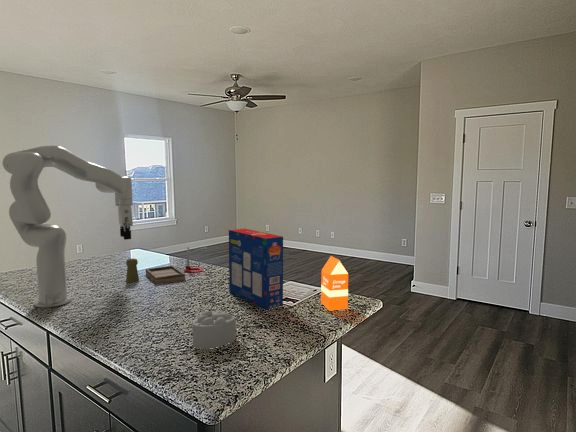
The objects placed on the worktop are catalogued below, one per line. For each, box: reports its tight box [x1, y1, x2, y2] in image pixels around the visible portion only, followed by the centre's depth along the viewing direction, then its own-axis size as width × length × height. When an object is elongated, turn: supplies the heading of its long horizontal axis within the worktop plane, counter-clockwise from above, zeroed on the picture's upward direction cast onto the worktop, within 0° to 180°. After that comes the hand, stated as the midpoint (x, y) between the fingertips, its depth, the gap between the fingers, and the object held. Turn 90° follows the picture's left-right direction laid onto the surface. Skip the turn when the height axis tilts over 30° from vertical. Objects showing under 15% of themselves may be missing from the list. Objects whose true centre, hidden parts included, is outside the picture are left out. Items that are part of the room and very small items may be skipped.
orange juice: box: [320, 255, 349, 311], centre depth 143 cm, size 8×9×20 cm
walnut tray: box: [145, 265, 186, 285], centre depth 186 cm, size 20×14×3 cm
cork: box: [125, 258, 140, 284], centre depth 179 cm, size 6×6×11 cm
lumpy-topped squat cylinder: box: [191, 309, 237, 349], centre depth 113 cm, size 10×13×9 cm
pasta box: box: [228, 228, 284, 311], centre depth 152 cm, size 28×8×28 cm, turn 39°
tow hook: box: [183, 247, 204, 274], centre depth 199 cm, size 8×13×9 cm
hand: (125, 237), depth 178 cm, fingers open, 9 cm apart
